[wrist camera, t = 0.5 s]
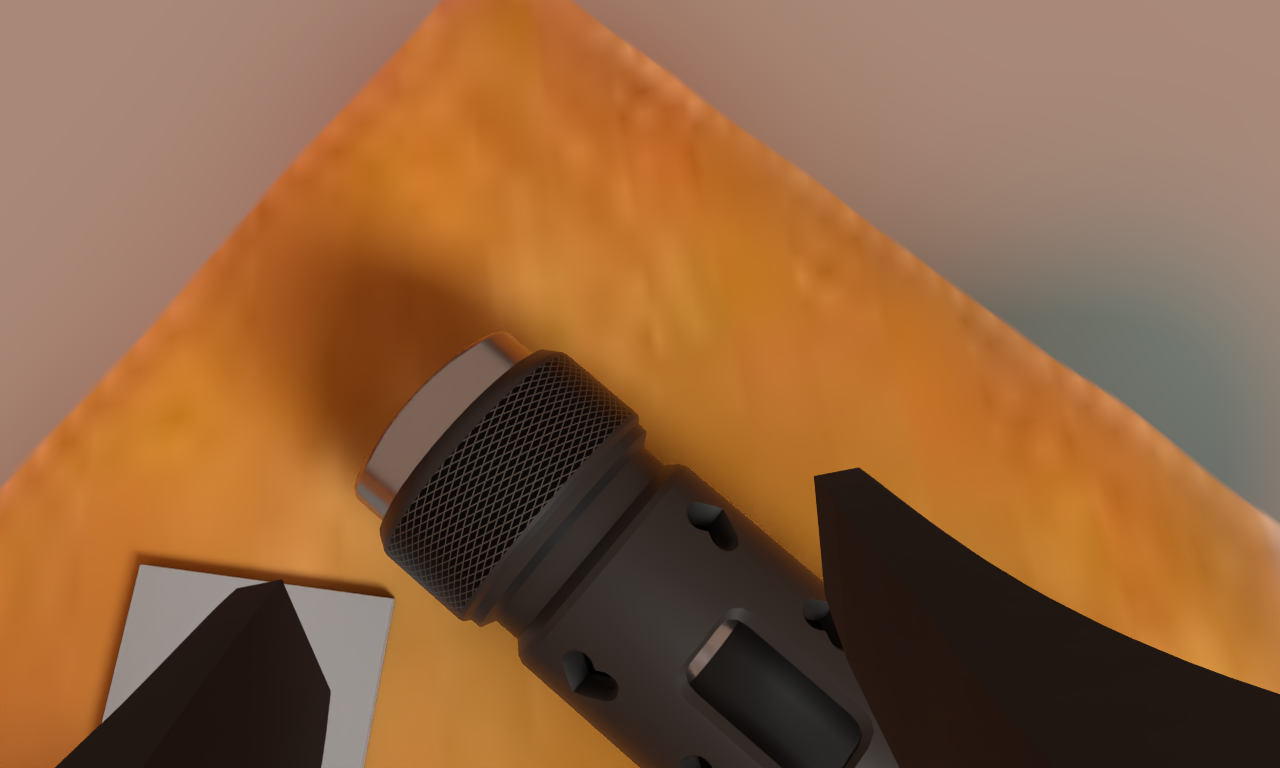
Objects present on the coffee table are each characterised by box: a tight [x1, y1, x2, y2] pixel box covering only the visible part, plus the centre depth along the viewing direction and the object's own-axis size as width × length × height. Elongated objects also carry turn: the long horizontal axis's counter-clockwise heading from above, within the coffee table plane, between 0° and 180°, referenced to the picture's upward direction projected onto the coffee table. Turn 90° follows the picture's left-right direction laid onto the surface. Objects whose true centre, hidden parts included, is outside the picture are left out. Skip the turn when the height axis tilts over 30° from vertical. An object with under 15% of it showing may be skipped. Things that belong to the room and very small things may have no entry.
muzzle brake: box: [355, 331, 899, 768], centre depth 33 cm, size 10×28×10 cm, turn 50°
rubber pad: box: [102, 565, 395, 768], centre depth 36 cm, size 10×10×1 cm
